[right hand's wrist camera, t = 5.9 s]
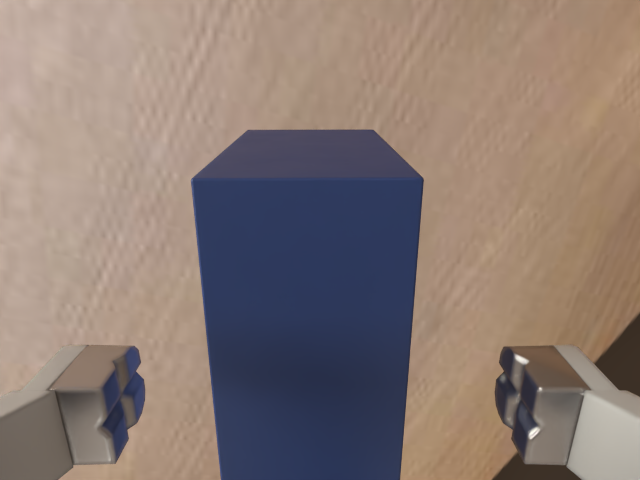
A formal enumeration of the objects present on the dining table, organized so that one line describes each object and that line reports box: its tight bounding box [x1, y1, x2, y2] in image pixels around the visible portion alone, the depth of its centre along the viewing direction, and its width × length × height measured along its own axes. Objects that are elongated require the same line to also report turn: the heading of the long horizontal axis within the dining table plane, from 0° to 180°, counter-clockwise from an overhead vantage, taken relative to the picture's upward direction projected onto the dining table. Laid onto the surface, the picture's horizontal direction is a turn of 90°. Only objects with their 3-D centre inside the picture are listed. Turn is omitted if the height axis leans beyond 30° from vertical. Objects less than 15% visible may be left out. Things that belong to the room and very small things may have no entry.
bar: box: [191, 130, 424, 480], centre depth 18 cm, size 24×5×9 cm, turn 0°
